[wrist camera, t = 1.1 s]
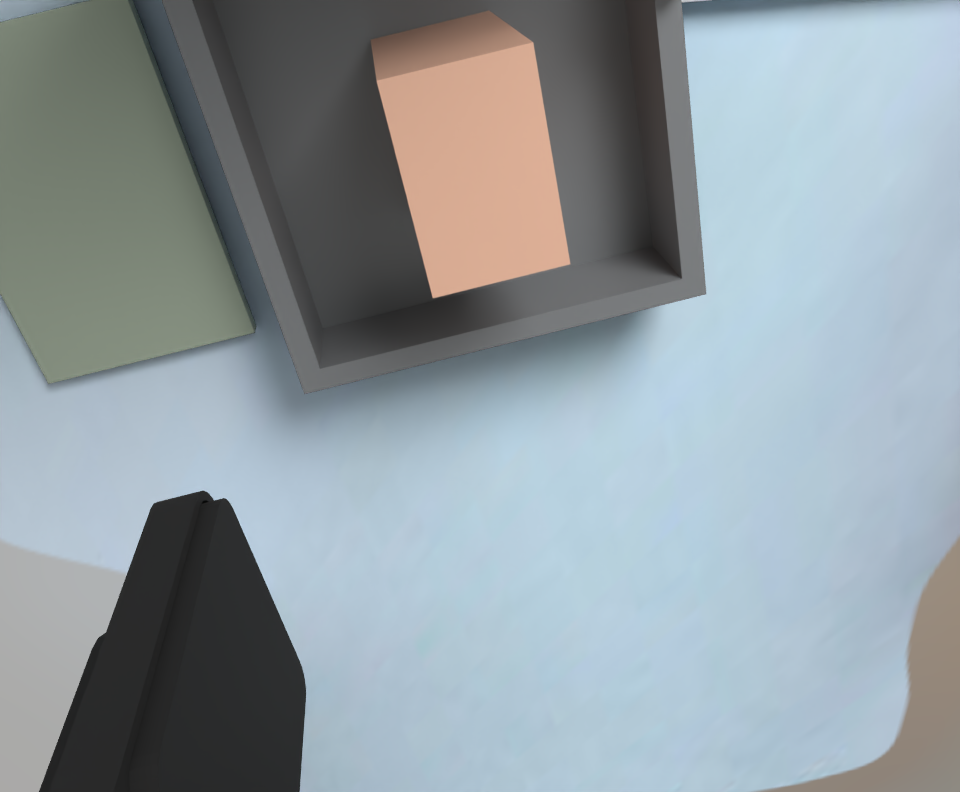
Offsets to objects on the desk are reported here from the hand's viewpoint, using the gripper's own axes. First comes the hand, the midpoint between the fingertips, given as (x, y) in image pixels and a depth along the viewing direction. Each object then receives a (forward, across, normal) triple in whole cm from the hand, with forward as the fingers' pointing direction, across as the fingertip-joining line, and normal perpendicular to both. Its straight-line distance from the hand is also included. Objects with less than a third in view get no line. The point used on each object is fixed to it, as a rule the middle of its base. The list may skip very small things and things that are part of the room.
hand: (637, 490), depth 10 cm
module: (+23, 0, 0) cm, 23 cm away
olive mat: (+23, +13, 0) cm, 27 cm away
